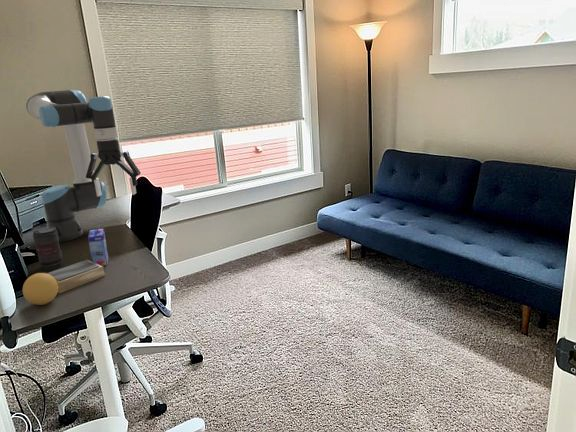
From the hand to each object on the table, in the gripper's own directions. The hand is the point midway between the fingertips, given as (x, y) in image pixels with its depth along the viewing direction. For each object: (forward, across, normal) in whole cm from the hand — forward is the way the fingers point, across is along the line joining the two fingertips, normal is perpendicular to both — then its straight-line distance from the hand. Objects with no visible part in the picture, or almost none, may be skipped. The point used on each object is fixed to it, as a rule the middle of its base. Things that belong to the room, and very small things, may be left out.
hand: (116, 194), depth 170 cm
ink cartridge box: (+25, -8, -7) cm, 27 cm away
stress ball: (+25, -12, -39) cm, 48 cm away
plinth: (+25, -10, -22) cm, 35 cm away
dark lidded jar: (+25, -26, -9) cm, 37 cm away
